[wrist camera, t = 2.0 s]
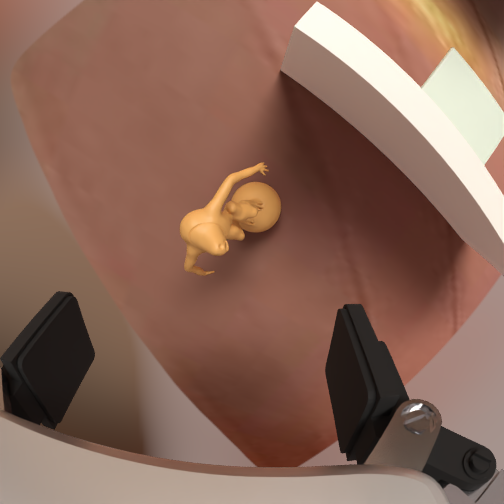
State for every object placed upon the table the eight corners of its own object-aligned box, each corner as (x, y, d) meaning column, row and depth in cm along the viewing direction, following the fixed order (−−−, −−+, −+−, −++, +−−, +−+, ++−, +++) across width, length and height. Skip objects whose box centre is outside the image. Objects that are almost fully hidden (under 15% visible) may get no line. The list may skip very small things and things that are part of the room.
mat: (508, 123, 21) (510, 124, 20) (461, 191, 24) (463, 192, 24) (451, 47, 19) (453, 47, 18) (396, 118, 22) (398, 118, 22)
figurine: (254, 249, 28) (246, 338, 17) (194, 220, 27) (149, 294, 16) (301, 169, 25) (328, 214, 14) (235, 135, 24) (209, 153, 13)
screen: (471, 228, 26) (549, 293, 14) (461, 239, 26) (537, 309, 15) (291, 55, 21) (317, 1, 9) (280, 70, 21) (294, 26, 10)
